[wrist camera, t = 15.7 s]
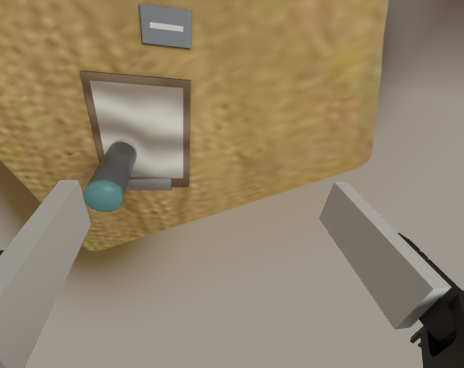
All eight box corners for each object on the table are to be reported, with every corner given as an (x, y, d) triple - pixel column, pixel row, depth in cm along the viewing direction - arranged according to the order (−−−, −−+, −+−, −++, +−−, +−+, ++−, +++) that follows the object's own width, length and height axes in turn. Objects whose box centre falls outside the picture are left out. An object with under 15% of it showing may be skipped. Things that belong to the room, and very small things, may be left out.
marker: (107, 138, 36) (79, 184, 26) (136, 139, 36) (118, 184, 27) (112, 161, 38) (87, 212, 28) (138, 162, 39) (124, 211, 29)
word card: (140, 3, 28) (139, 3, 28) (191, 11, 29) (191, 10, 29) (143, 42, 30) (142, 42, 30) (190, 47, 32) (191, 48, 31)
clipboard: (81, 70, 31) (76, 73, 30) (190, 80, 34) (190, 82, 32) (105, 184, 41) (102, 191, 39) (188, 185, 44) (188, 190, 42)
